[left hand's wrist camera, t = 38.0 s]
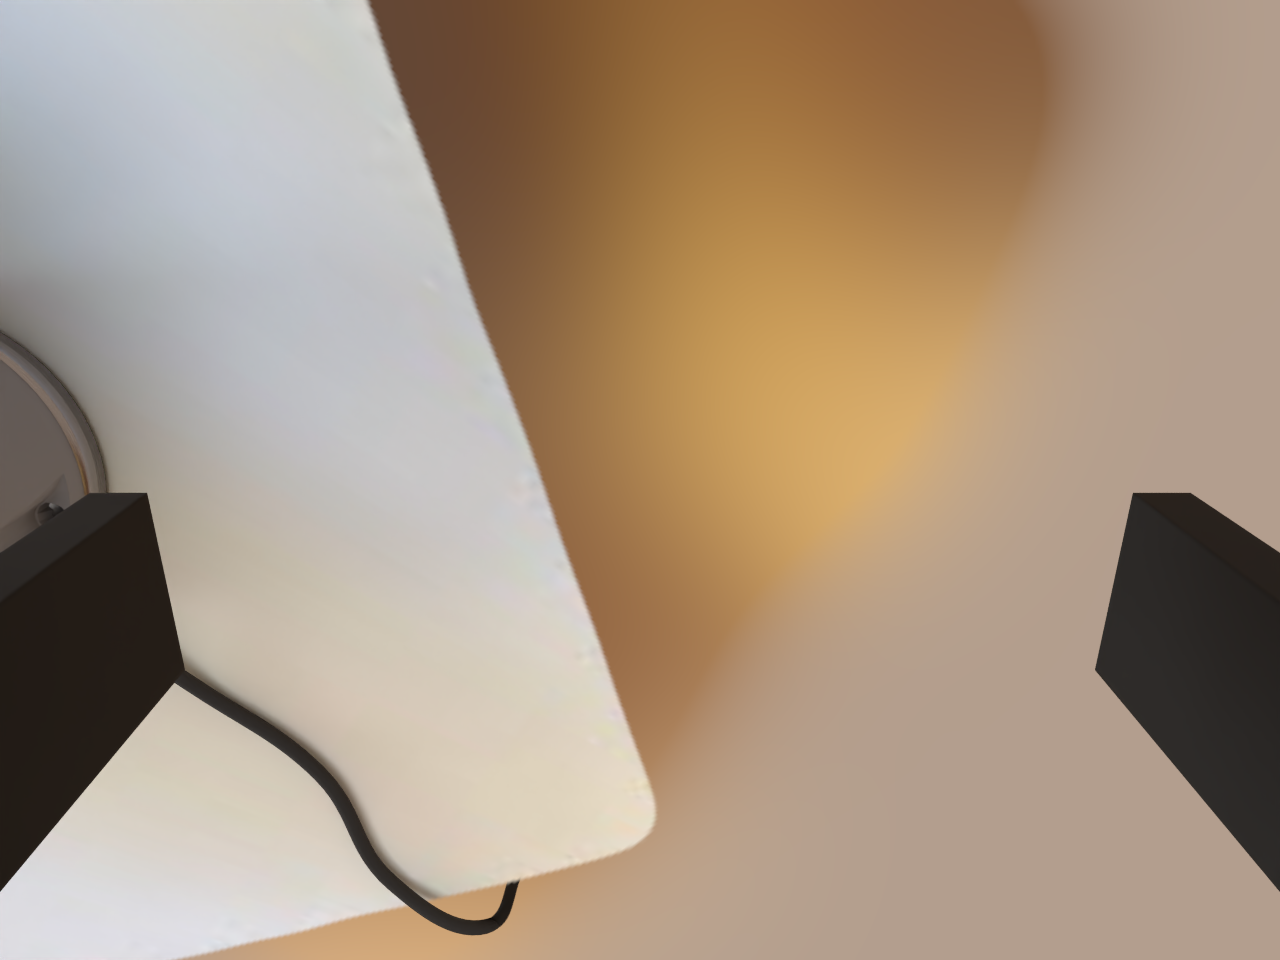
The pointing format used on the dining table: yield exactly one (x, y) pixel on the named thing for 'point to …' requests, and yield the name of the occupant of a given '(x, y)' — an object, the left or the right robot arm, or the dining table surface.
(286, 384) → the dining table surface
